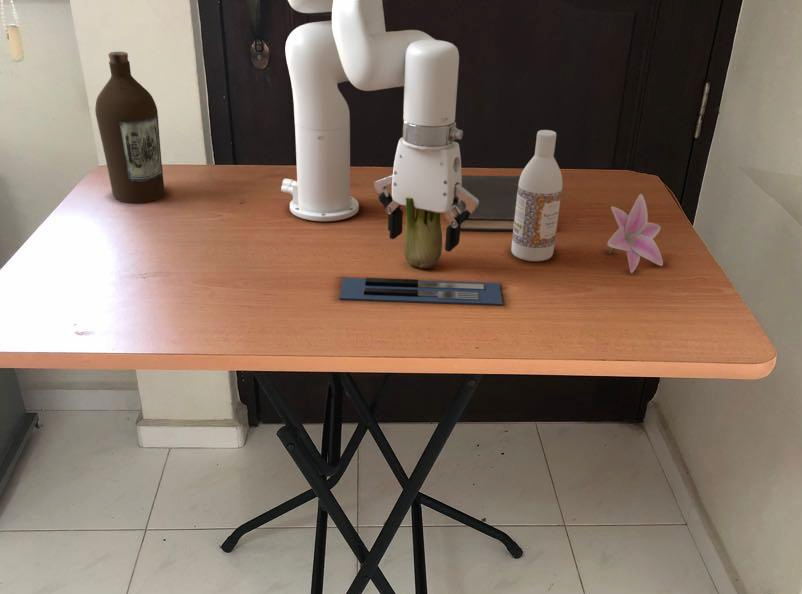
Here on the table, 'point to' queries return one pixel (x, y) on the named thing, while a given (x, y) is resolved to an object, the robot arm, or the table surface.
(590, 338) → the table surface
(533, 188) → the bath foam
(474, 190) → the hardcover book
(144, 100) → the olive oil
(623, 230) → the lily
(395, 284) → the cutlery
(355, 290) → the napkin
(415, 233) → the fennel bulb
